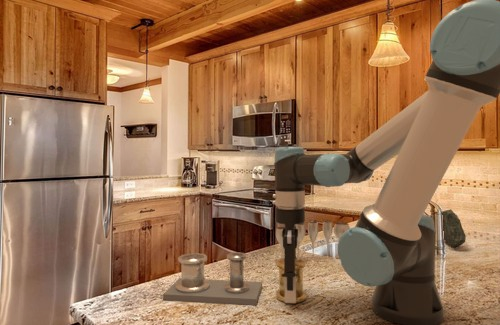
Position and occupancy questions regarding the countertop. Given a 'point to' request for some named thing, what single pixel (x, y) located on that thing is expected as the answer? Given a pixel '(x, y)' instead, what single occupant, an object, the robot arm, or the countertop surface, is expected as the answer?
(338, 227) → the goblet set
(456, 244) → the rock
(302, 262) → the gold flared knob
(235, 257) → the narrow pipe stub
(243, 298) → the plate
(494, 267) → the countertop surface
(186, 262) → the wide pipe stub
